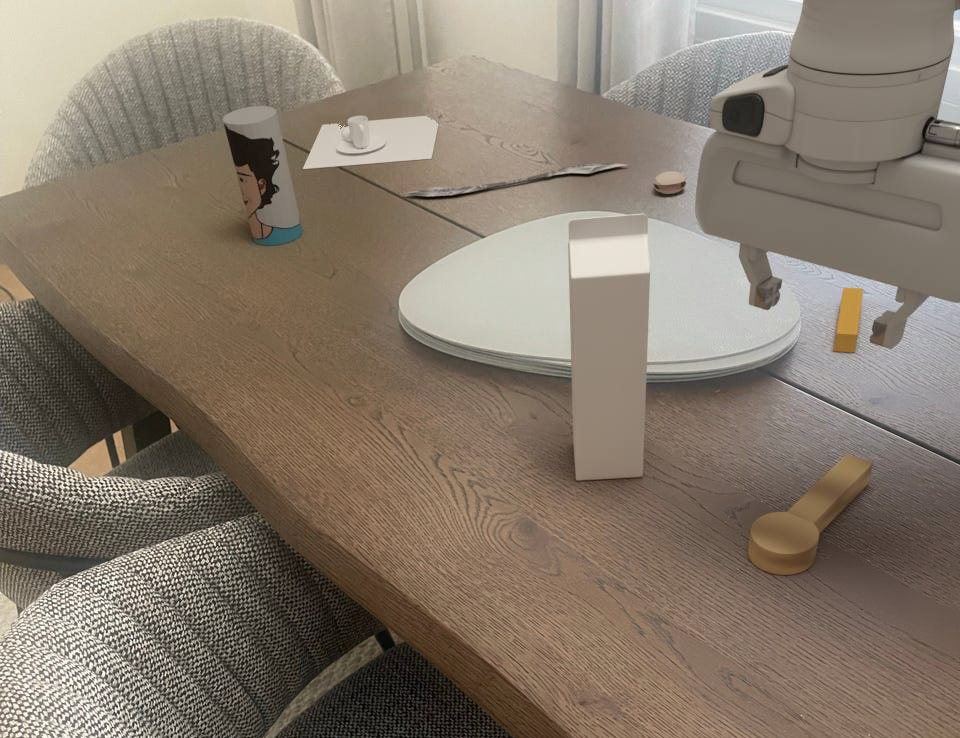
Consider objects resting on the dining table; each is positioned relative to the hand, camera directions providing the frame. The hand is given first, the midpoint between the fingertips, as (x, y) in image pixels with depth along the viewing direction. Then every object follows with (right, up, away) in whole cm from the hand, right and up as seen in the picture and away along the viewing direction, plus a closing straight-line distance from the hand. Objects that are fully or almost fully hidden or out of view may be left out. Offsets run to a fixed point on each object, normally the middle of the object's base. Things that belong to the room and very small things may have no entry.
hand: (822, 323), depth 67 cm
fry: (+14, +10, +33) cm, 38 cm away
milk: (-12, -6, +21) cm, 25 cm away
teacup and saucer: (-41, +58, +87) cm, 112 cm away
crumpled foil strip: (-19, +43, +69) cm, 84 cm away
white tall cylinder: (-51, +33, +64) cm, 89 cm away
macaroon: (+2, +38, +63) cm, 74 cm away
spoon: (+4, -12, +12) cm, 18 cm away
